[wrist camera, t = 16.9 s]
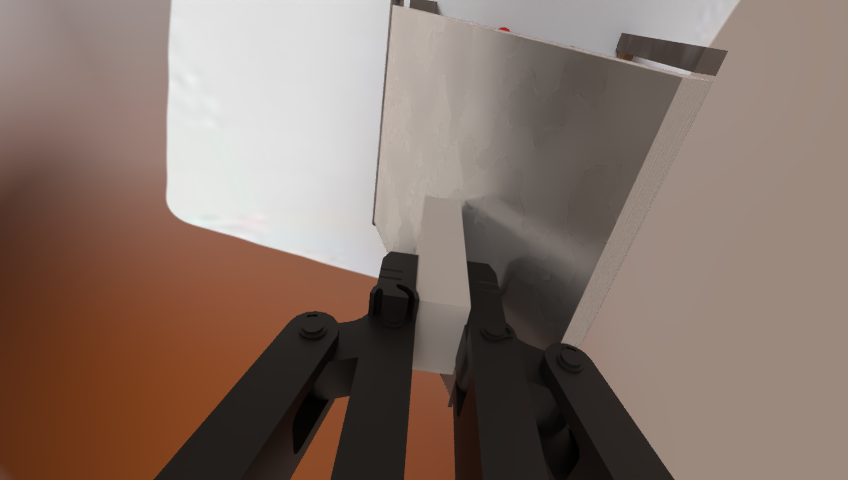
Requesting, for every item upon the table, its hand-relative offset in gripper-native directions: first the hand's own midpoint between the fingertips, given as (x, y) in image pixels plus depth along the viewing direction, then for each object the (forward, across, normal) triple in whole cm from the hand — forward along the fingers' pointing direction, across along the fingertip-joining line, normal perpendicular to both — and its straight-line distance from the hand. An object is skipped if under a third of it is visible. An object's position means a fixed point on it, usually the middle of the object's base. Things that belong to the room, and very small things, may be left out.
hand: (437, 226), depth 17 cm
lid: (+4, 0, 0) cm, 4 cm away
